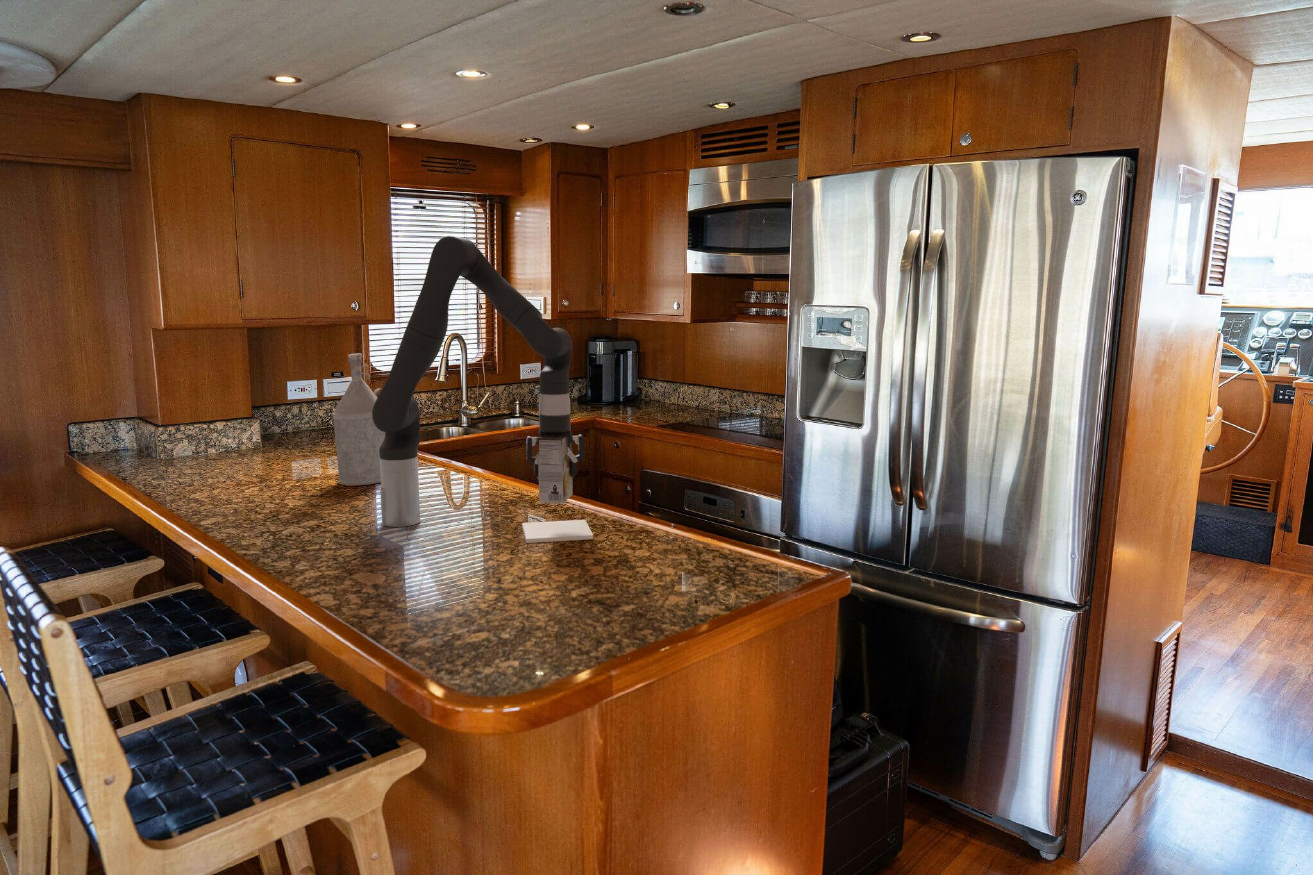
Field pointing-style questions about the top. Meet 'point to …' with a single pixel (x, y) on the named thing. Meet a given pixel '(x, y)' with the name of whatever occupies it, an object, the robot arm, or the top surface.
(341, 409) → the grey bottle
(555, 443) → the coffee box
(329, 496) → the top surface
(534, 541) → the mat
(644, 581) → the top surface
